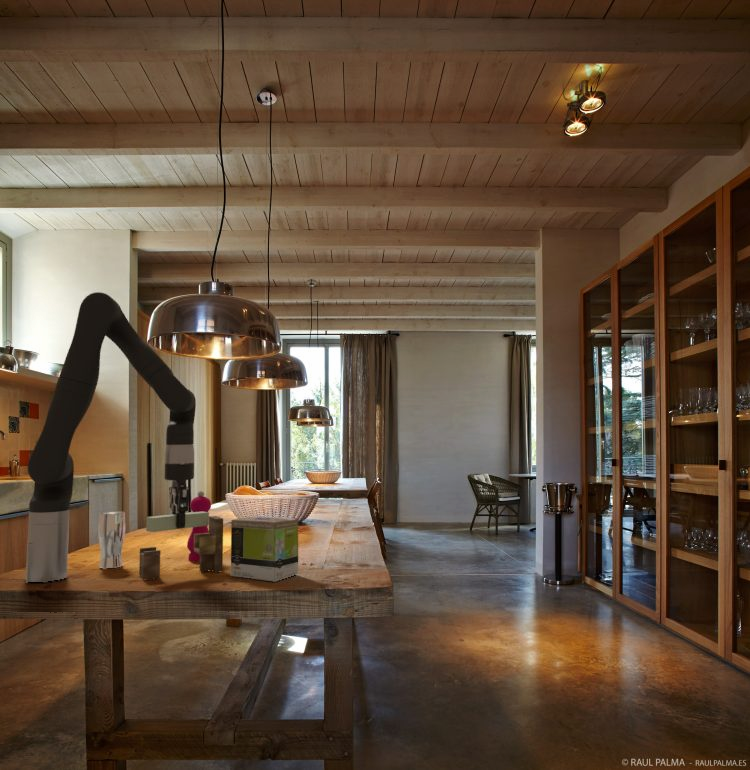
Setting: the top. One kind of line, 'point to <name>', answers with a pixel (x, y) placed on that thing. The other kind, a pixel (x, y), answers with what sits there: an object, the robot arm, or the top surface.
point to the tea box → (264, 548)
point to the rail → (170, 521)
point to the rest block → (149, 563)
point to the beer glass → (111, 538)
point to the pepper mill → (199, 506)
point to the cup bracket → (210, 546)
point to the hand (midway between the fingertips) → (178, 526)
